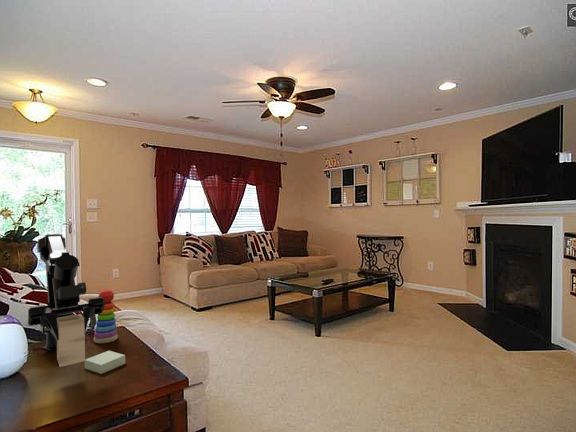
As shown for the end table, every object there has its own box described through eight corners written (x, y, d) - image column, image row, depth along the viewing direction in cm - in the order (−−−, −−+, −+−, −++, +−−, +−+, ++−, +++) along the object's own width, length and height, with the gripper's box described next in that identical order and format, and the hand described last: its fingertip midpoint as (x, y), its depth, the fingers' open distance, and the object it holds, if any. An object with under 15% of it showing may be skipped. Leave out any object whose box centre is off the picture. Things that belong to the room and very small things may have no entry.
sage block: (84, 369, 108) (84, 359, 108) (109, 359, 115) (108, 350, 115) (101, 375, 104) (100, 365, 104) (125, 364, 111) (125, 355, 111)
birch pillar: (57, 359, 101) (56, 317, 101) (81, 354, 105) (80, 313, 104) (59, 367, 96) (58, 323, 96) (85, 360, 100) (84, 318, 100)
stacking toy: (107, 345, 127) (106, 292, 127) (88, 343, 129) (87, 291, 128) (122, 337, 135) (121, 287, 134) (104, 336, 136) (103, 287, 136)
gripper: (27, 278, 97) (31, 329, 89) (103, 270, 109) (112, 314, 100) (26, 301, 103) (29, 350, 95) (98, 291, 115) (106, 334, 107)
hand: (71, 336), depth 99 cm, fingers closed on birch pillar, 6 cm apart
